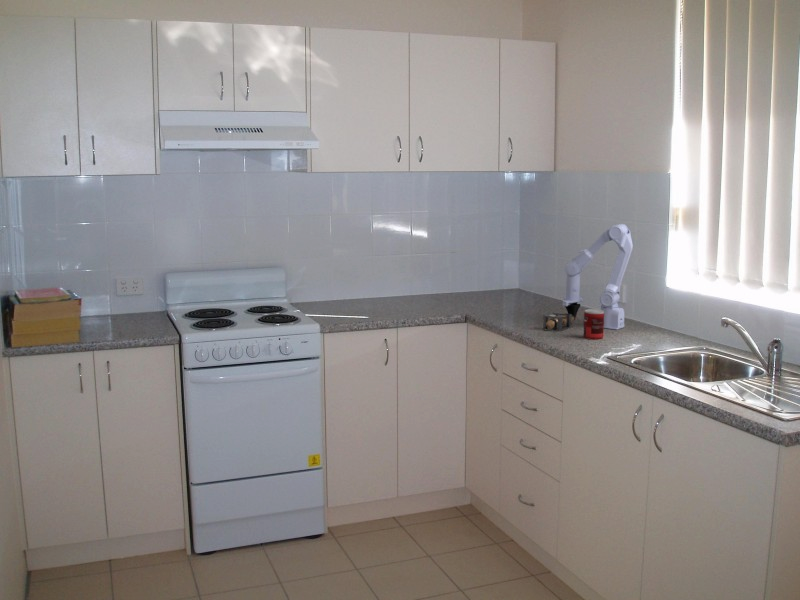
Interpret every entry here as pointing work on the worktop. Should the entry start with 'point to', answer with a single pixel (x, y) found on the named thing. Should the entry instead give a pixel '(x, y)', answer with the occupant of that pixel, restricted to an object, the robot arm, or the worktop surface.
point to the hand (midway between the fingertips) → (572, 320)
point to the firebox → (558, 321)
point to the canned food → (593, 324)
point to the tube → (553, 322)
